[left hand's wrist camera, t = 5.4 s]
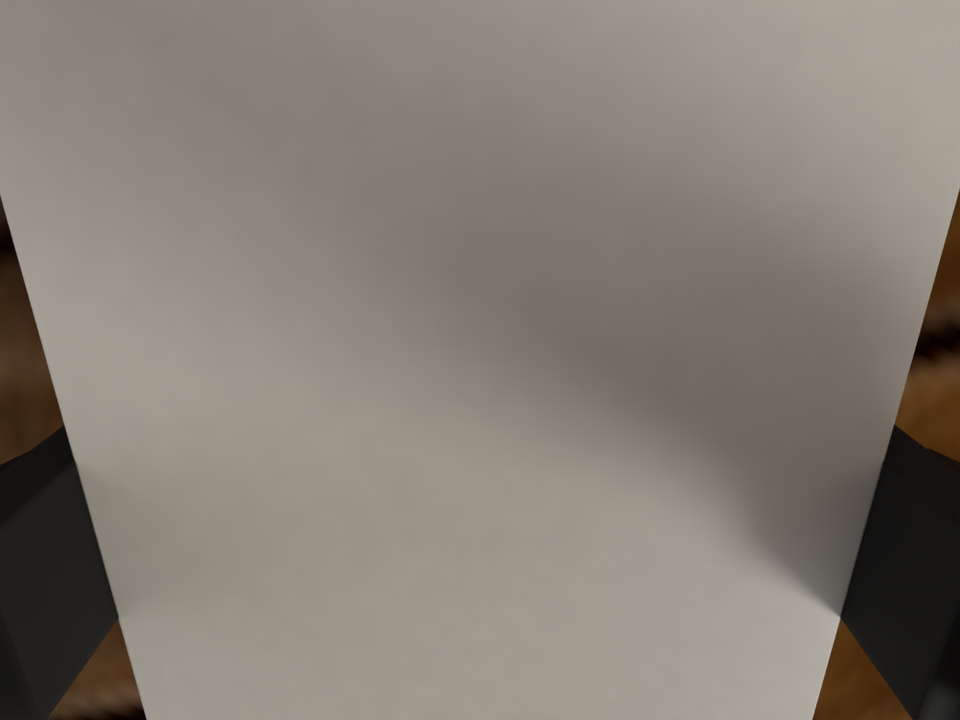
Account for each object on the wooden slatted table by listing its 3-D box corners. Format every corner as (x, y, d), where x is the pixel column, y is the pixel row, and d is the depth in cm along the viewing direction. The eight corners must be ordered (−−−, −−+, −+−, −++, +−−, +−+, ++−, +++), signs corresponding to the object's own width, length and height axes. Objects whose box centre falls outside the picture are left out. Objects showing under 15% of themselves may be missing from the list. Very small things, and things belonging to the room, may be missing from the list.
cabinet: (183, -462, 11) (-629, -2038, 3) (773, -462, 11) (1577, -2015, 3) (300, 474, 19) (157, 765, 10) (658, 474, 19) (801, 764, 10)
